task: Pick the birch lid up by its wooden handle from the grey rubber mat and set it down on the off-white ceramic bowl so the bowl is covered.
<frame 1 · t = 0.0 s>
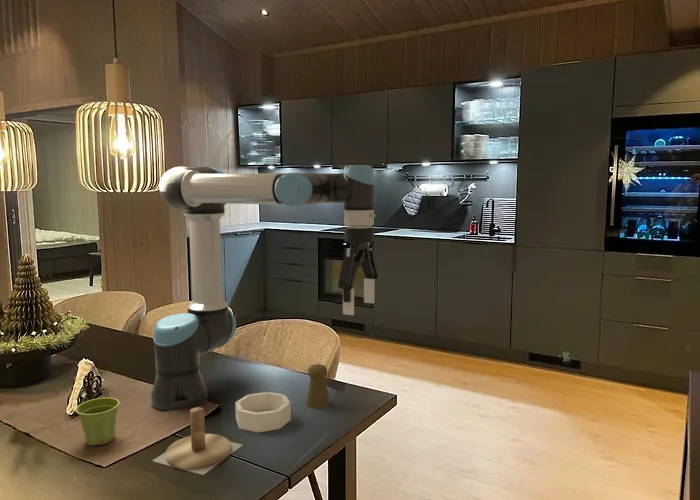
hand: (359, 308, 140), 28 cm above the table, fingers open, 13 cm apart
lid: (198, 452, 121), resting on mat
plant pot: (100, 441, 128), on the table
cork: (318, 404, 148), on the table
bowl: (263, 421, 138), on the table
mat: (198, 454, 121), on the table
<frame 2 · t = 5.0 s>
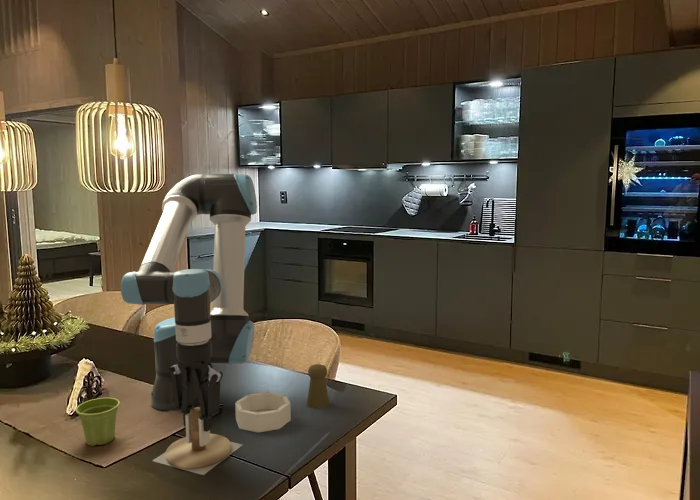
hand: (198, 441, 121), 3 cm above the table, fingers closed on lid, 3 cm apart
lid: (198, 452, 121), point 1 cm above the table, touching gripper
everything else where it was.
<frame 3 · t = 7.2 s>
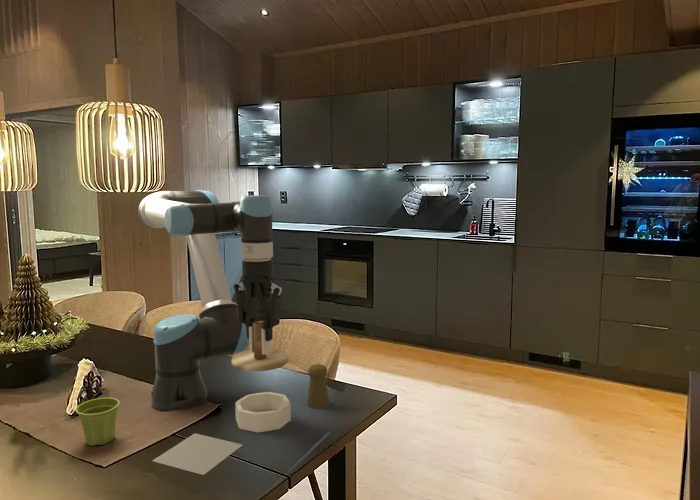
hand: (260, 351, 135), 19 cm above the table, fingers closed on lid, 3 cm apart
lid: (260, 361, 135), point 16 cm above the table, touching gripper
everything else where it was.
when the fingers open (9 cm above the table, at t = 9.6 s): lid drops 2 cm, resting on bowl.
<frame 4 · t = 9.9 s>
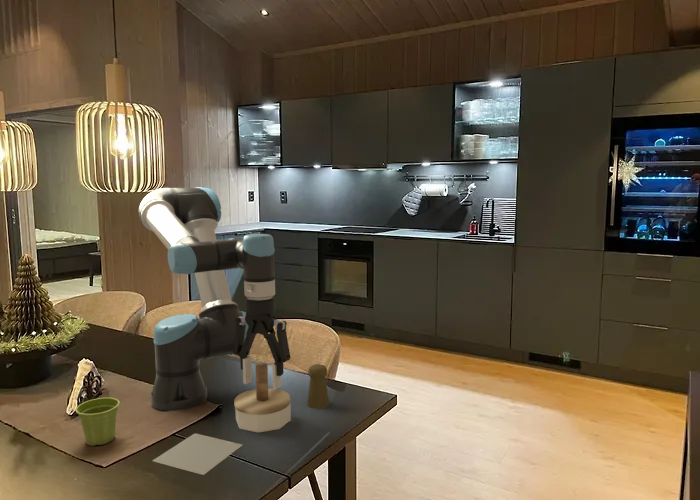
hand: (262, 384, 137), 10 cm above the table, fingers open, 8 cm apart
lid: (262, 402, 137), point 5 cm above the table, touching bowl
everything else where it was.
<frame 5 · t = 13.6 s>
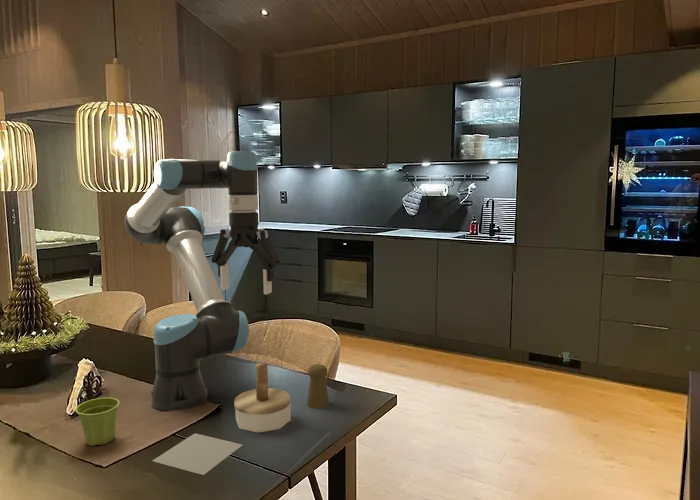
hand: (246, 291, 144), 32 cm above the table, fingers open, 13 cm apart
nothing on the table moved.
at the end: lid 0.0 cm from the bowl (horizontally); lid inside the target area (0.0 cm from its centre), point 5.0 cm above the table; lid tilted 0° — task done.
